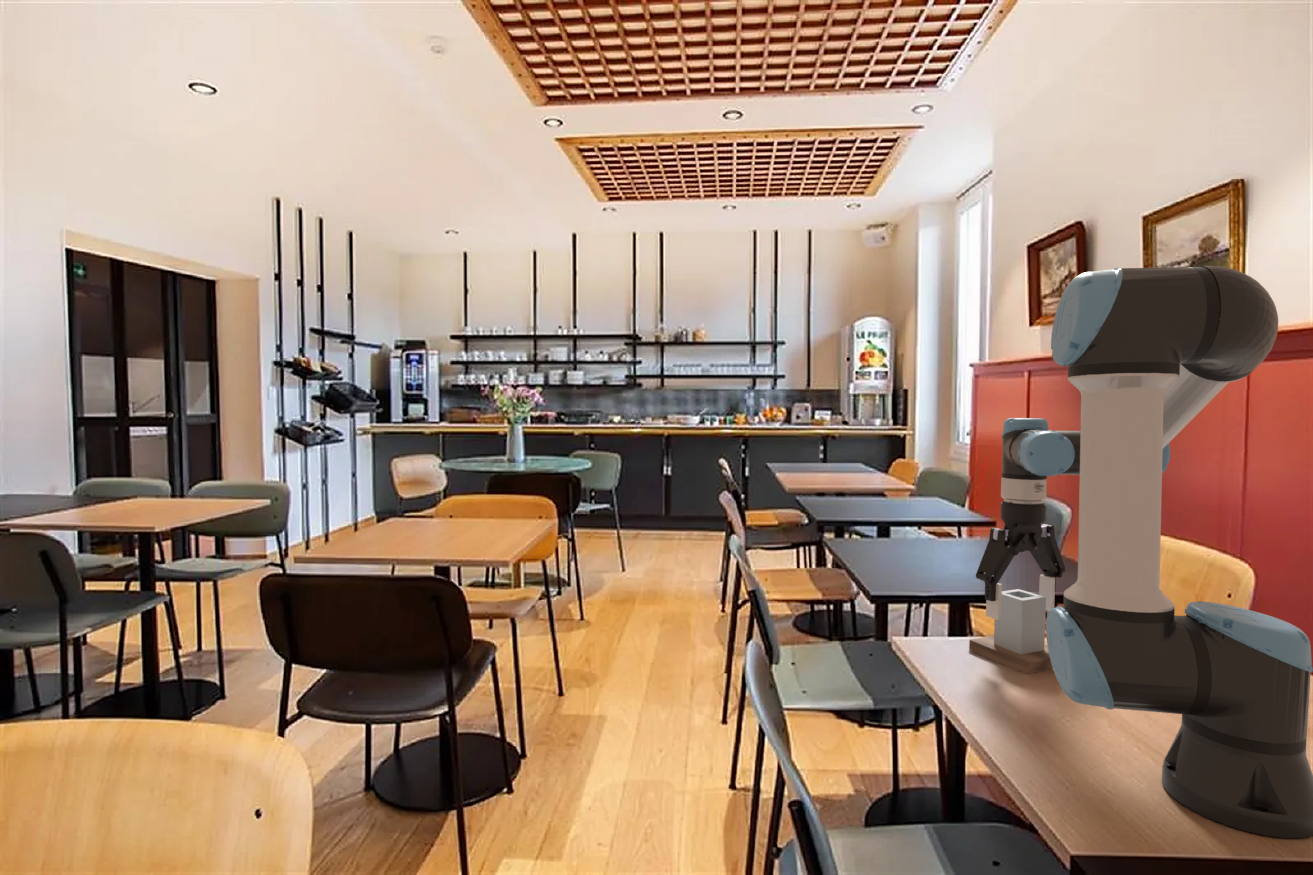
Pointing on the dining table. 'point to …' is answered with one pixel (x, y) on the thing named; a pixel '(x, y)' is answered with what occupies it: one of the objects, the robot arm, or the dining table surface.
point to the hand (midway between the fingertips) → (1020, 614)
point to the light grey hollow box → (1021, 622)
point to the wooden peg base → (1012, 656)
